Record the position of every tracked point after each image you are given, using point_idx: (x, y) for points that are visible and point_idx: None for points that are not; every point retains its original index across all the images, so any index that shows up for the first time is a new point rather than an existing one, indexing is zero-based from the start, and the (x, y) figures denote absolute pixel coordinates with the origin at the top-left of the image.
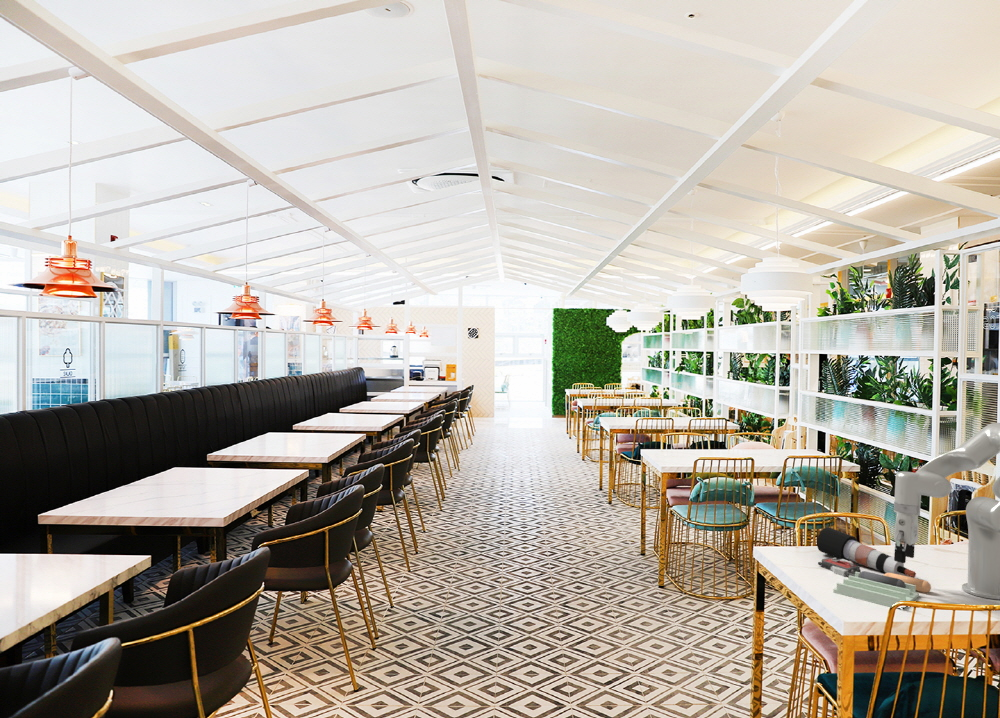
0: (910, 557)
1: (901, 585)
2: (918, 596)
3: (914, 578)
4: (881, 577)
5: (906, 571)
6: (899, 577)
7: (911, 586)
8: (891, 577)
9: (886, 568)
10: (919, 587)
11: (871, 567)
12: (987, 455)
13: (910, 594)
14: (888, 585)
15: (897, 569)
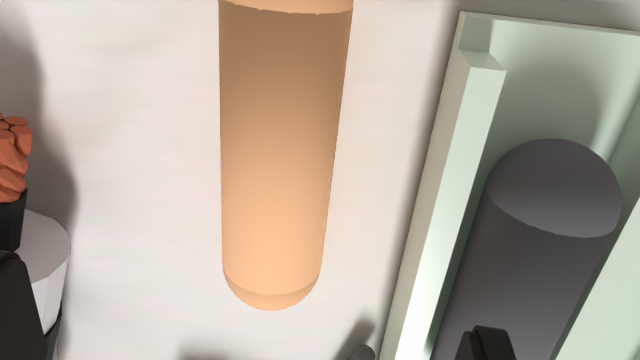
0: (25, 279)
1: (617, 182)
2: (482, 13)
3: (276, 107)
4: (551, 344)
5: (6, 189)
6: (305, 220)
7: (495, 99)
8: (542, 290)
9: (58, 304)
10: (348, 33)
11: None
12: None
13: (570, 77)
14: (635, 265)
15: (15, 247)
